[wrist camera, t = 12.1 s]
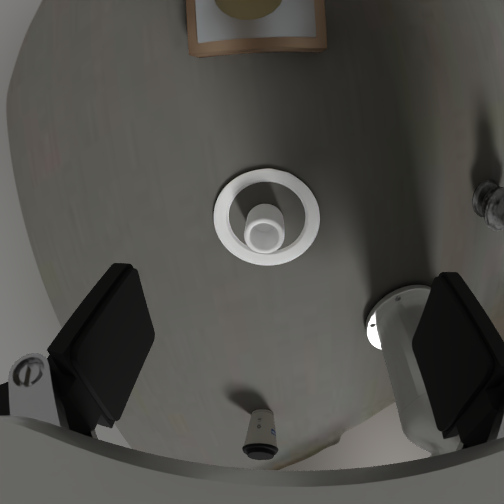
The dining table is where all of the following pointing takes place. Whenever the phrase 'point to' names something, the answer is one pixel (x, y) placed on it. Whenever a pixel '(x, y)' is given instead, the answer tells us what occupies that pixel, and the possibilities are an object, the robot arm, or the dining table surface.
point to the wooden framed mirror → (256, 29)
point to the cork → (247, 8)
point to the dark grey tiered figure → (490, 204)
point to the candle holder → (266, 220)
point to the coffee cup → (261, 436)
